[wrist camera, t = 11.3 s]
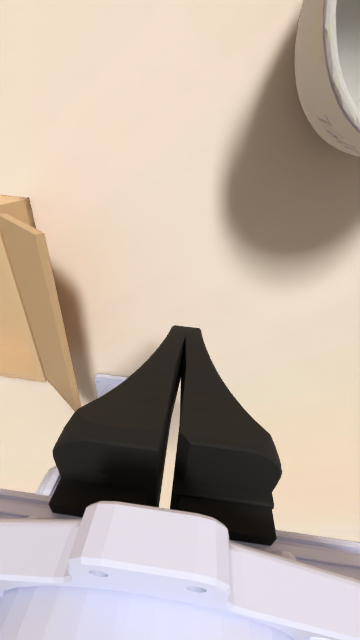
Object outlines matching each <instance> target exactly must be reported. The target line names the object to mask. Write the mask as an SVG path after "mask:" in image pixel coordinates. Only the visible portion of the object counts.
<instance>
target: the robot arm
mask: <svg viewBox="0 0 360 640" xmlns="http://www.w3.org/2000/svg"><path fill="white" fill-rule="evenodd" d="M180 379H181V400H180V426H179V435H178V443H177V452H176V461H175V469H174V478H173V487H172V496H171V504H170V509H164V508H159V501H160V494H161V486H162V479H163V472H164V464H165V457H166V450H167V443H168V436H169V428H170V422H171V417H172V412H173V408H174V404H175V400H176V396H177V391H178V387H179V383H180ZM95 385H96V391H97V398H98V399H96V400H94V401H92V402H90V403H88V404H86V405H85V406H83V407H81V408H79V409H77V410H76V412H75V413H74V414H73V416H72V417H71V418H70V420H69V421H68V423H67V424H66V426H65V427H64V429H63V431H62V433H61V435H60V437H59V439H58V441H57V442H56V444H55V446H54V449H53V458H54V460H55V463H56V466H54V467H53V468H51V469H49V471H48V472H47V474H46V475H45V477H44V479H43V480H42V482H41V484H40V486H39V488H38V490H37V492H36V494H33V493H26V492H20V491H13V490H6V489H0V640H360V542H354V541H347V540H341V539H334V538H327V537H321V536H314V535H307V534H301V533H294V532H287V531H281V530H275V526H274V520H273V514H272V509H273V508H274V502H273V496H272V492H273V490H274V488H275V486H276V485H277V483H278V481H279V480H280V478H281V475H282V469H281V463H280V459H279V456H278V453H277V450H276V447H275V445H274V442H273V440H272V437H271V435H270V434H269V433H268V432H267V431H266V430H265V429H264V428H262V427H261V426H260V425H259V424H258V423H257V422H256V421H255V420H254V419H253V418H252V417H251V416H250V415H249V414H248V413H247V412H246V411H245V410H244V408H243V407H242V406H241V405H240V403H239V402H238V401H237V400H236V399H235V397H234V396H233V395H232V394H231V392H230V391H229V389H228V388H227V387H226V385H225V384H224V382H223V381H222V379H221V377H220V376H219V374H218V372H217V370H216V369H215V367H214V365H213V363H212V361H211V359H210V356H209V354H208V352H207V349H206V347H205V344H204V341H203V338H202V333H201V330H200V329H199V328H192V327H183V326H175V325H174V326H173V327H172V328H171V330H170V332H169V334H168V335H167V337H166V338H165V340H164V341H163V342H162V344H161V345H160V346H159V347H158V349H157V350H156V351H155V352H154V353H153V354H152V356H151V357H150V358H149V359H148V360H147V361H146V362H145V363H144V364H143V365H142V366H141V367H140V368H139V369H138V370H137V371H136V372H134V373H133V374H132V375H131V376H130V377H120V376H112V375H104V374H96V376H95Z"/></svg>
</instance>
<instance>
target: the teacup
mask: <svg viewBox="0 0 360 640" xmlns="http://www.w3.org/2000/svg"><path fill="white" fill-rule="evenodd" d="M295 79H296V86H297V91H298V96H299V100H300V103H301V106H302V109H303V111H304V113H305V115H306V117H307V119H308V121H309V123H310V124H311V126H312V127H313V129H314V130H315V131H316V132H317V134H318V135H319V136H320V137H321V138H322V139H323V140H325V141H326V142H327V143H328V144H330V145H331V146H333V147H334V148H336V149H338V150H340V151H342V152H345V153H348V154H350V155H354V156H358V157H360V0H304V1H303V5H302V9H301V13H300V18H299V22H298V29H297V36H296V43H295Z"/></svg>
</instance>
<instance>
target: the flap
mask: <svg viewBox="0 0 360 640" xmlns="http://www.w3.org/2000/svg"><path fill="white" fill-rule="evenodd" d="M0 226H1V229H2V232H3V236H4V239H5V242H6V246H7V249H8V252H9V256H10V259H11V262H12V266H13V269H14V272H15V276H16V279H17V282H18V286H19V289H20V292H21V296H22V299H23V302H24V305H25V309H26V312H27V315H28V319H29V322H30V325H31V329H32V332H33V335H34V339H35V342H36V345H37V349H38V352H39V355H40V359H41V362H42V365H43V368H44V372H45V375H46V378H47V380H48V381H49V382H50V384H51V385H52V386H53V387H54V388H55V389H56V390H57V392H58V393H59V394H60V395H61V396H62V397H63V398H64V400H65V401H66V402H67V403H68V404H69V405H70V406H71V408H72V409H73V410H74V411H75V412H76V410H77V409H79V408H81V403H80V398H79V393H78V389H77V384H76V379H75V375H74V370H73V365H72V361H71V356H70V351H69V347H68V342H67V337H66V333H65V328H64V323H63V319H62V314H61V309H60V305H59V300H58V295H57V290H56V286H55V281H54V276H53V272H52V267H51V262H50V258H49V253H48V248H47V244H46V239H45V234H44V233H43V232H41V231H39V230H37V229H35V228H33V227H31V226H29V225H27V224H25V223H23V222H21V221H19V220H17V219H15V218H14V217H12V216H10V215H8V214H6V213H4V214H0Z"/></svg>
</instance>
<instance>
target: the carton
mask: <svg viewBox="0 0 360 640" xmlns="http://www.w3.org/2000/svg"><path fill="white" fill-rule="evenodd" d="M4 213H6V214H8V215H10V216H12V217H14V218H15V219H17V220H19V221H21V222H23V223H25V224H27V225H29V226H31V227H33V228H35V229H36V227H35V223H34V218H33V214H32V210H31V205H30V201H29V198H25V197H15V196H5V195H0V214H4ZM0 376H4V377H12V378H19V379H27V380H35V381H42V382H46V381H47V378H46V375H45V372H44V368H43V365H42V362H41V359H40V355H39V352H38V349H37V345H36V342H35V339H34V335H33V332H32V329H31V325H30V322H29V319H28V315H27V312H26V309H25V305H24V302H23V299H22V296H21V292H20V289H19V286H18V282H17V279H16V276H15V272H14V269H13V266H12V262H11V259H10V256H9V252H8V249H7V246H6V242H5V239H4V236H3V232H2V229H1V226H0Z"/></svg>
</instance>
